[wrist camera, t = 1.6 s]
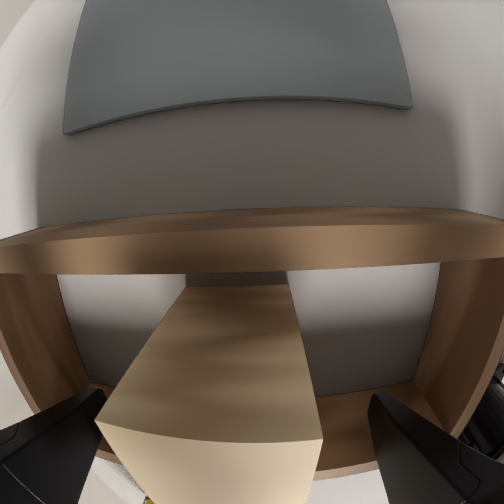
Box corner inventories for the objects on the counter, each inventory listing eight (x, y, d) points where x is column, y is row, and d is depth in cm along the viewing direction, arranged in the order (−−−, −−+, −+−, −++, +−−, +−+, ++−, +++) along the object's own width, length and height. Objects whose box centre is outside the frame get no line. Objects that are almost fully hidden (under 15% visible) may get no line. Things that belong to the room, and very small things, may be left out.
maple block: (288, 284, 12) (323, 439, 4) (287, 367, 13) (301, 514, 5) (185, 286, 12) (94, 419, 4) (198, 367, 13) (154, 503, 5)
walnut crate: (458, 209, 10) (531, 227, 6) (421, 389, 13) (454, 441, 8) (37, 228, 11) (-30, 249, 7) (85, 390, 14) (50, 437, 9)
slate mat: (367, -34, 7) (369, -39, 7) (407, 109, 9) (412, 107, 9) (93, -7, 8) (89, -10, 7) (68, 135, 10) (62, 134, 10)
